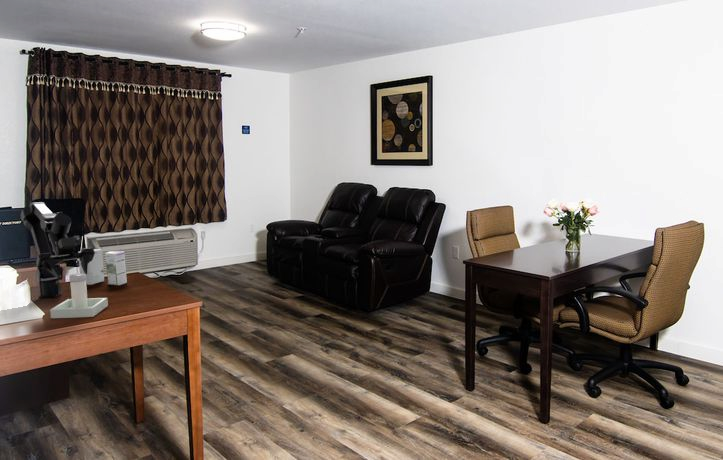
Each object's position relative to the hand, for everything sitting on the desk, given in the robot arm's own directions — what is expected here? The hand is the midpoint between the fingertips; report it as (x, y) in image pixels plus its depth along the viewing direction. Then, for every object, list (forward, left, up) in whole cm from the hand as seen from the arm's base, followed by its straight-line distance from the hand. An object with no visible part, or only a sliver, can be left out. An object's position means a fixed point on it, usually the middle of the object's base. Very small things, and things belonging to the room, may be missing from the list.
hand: (73, 275), depth 191 cm
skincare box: (-11, +44, -13) cm, 47 cm away
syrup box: (+1, +40, -13) cm, 42 cm away
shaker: (+3, -4, -12) cm, 13 cm away
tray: (+3, -4, -13) cm, 14 cm away
